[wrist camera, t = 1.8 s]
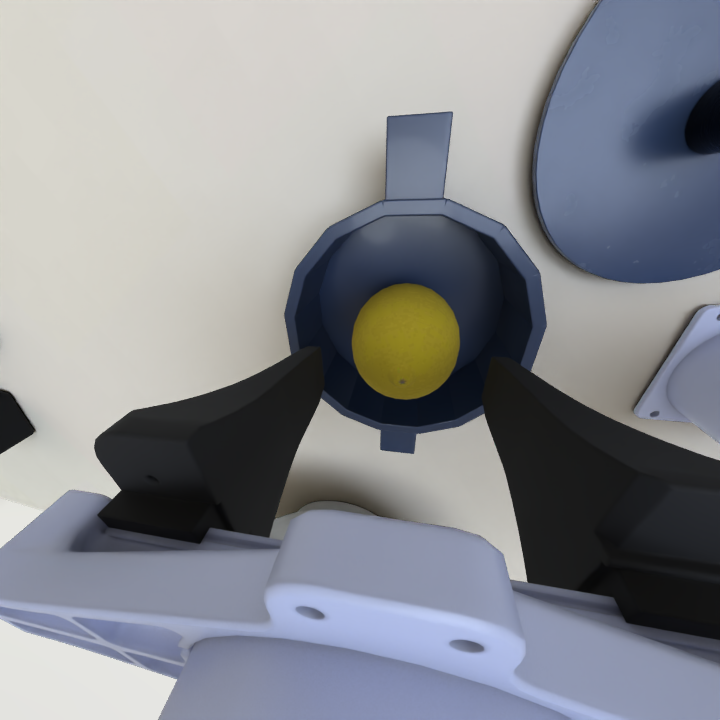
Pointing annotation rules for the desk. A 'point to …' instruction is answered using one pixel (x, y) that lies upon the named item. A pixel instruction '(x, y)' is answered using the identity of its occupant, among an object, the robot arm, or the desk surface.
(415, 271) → the pot
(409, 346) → the lemon
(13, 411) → the battery
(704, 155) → the pot lid
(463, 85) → the desk surface
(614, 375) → the desk surface
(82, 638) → the robot arm
